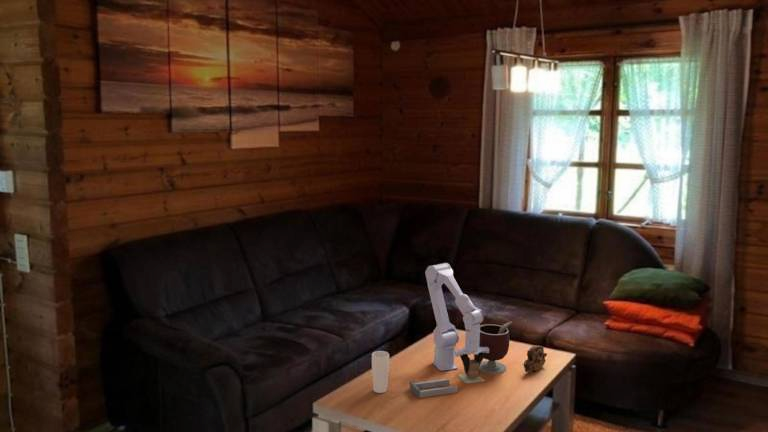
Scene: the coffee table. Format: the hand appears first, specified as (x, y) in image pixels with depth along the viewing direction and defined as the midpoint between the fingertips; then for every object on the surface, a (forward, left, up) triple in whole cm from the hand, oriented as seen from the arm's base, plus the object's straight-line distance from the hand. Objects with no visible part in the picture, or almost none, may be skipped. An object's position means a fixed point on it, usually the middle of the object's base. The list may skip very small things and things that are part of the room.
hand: (471, 370), depth 256 cm
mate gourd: (-7, +14, -3) cm, 16 cm away
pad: (0, 0, -3) cm, 3 cm away
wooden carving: (0, +30, -3) cm, 31 cm away
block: (+1, 0, -2) cm, 2 cm away
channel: (+6, -19, -3) cm, 20 cm away
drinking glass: (0, -39, -3) cm, 39 cm away
